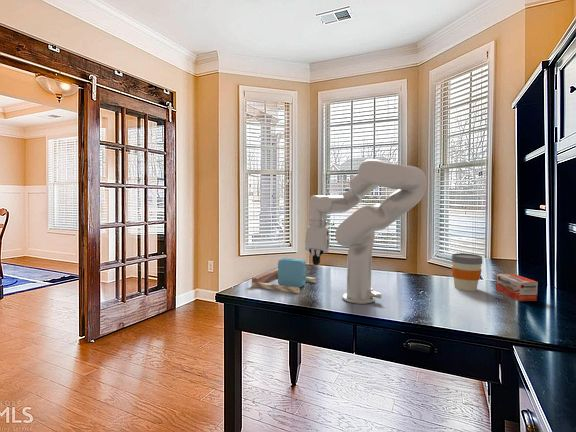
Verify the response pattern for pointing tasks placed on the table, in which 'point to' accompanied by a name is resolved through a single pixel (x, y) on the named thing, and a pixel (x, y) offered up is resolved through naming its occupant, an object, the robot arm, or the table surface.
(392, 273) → the table surface
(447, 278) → the table surface
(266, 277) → the guide channel
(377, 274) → the table surface
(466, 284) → the reusable coffee cup
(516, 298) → the medicine box
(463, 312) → the table surface
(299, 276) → the light blue square slab
